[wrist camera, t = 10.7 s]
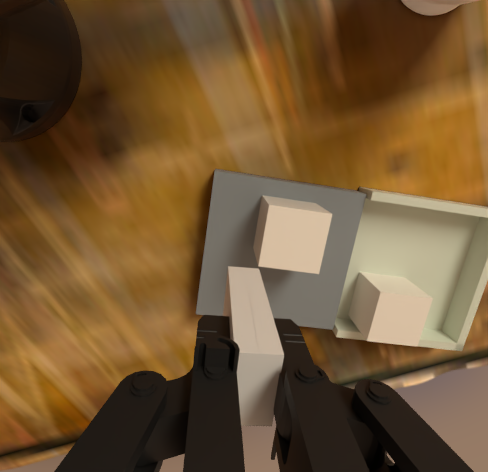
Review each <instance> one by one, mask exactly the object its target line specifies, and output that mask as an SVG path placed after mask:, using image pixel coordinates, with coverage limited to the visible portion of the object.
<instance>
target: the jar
mask: <svg viewBox="0 0 488 472" xmlns="http://www.w3.org/2000/svg"><path fill="white" fill-rule="evenodd" d="M401 1H402V3H403V4H404V5H406V6H407V7H408V8H409V9H411V10H412V11H414V12H416V13H419V14H422V15H430V16H432V15H440V14H444V13H447V12H449V11H451V10H453V9H455V8H456V7H458V6H459V5H461V4H467V3H471V2H475V1H479V0H401Z"/></svg>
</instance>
